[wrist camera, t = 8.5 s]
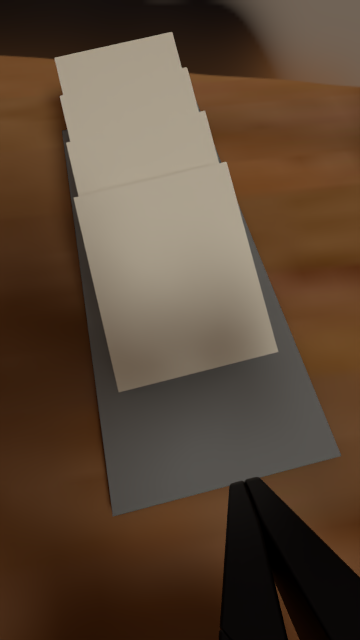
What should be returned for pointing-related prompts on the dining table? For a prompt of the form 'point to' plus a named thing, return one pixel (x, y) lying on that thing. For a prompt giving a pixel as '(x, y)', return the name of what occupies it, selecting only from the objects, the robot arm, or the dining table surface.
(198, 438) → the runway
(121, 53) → the tile
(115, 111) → the tile
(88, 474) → the dining table surface
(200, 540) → the dining table surface
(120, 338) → the tile
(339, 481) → the dining table surface
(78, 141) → the tile
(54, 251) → the dining table surface
